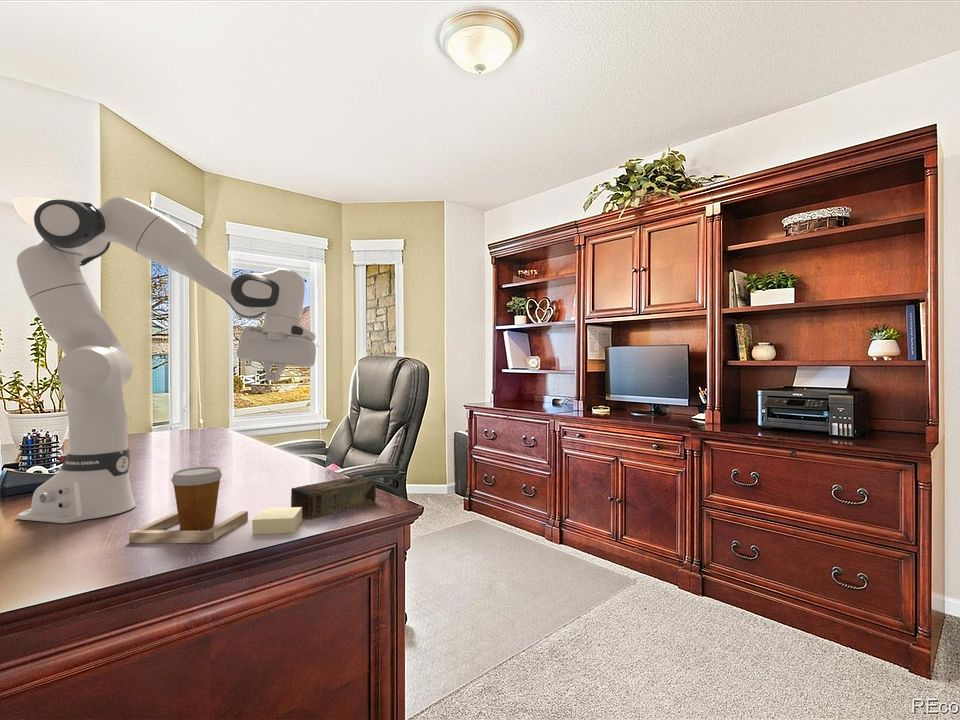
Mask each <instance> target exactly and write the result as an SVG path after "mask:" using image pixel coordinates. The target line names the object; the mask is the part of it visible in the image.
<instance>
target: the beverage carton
mask: <svg viewBox="0 0 960 720" xmlns="http://www.w3.org/2000/svg"><path fill="white" fill-rule="evenodd" d="M376 486H377V480H375V479H373V478H372V479H371V478H369V477H365V476H364V475H362V474H359V475H353V476H351V477H346V478H339V479H333V480H328V481H323V482H318V483H312V484H305V485H302V486H297V487H292V488H291V489H290V490H291V491H290V507H302V520H305V521H309V520H315V519H319V518H322V517H326V516H330V515H333V514H332V513H334V514H336V513H335V512H338V513H340V512H339V511H342V512H344V511H343V510H346V511H348V510H347V509H350V510H352V509H351V508H353V509H356V508H355V507H357V508H360V507H359V506H361V507H364V506H363V505H365V506H367V505H366V504H368V505H371V504H370V503H372V504H375V503H376V498H377V493H376V490H377V489H376ZM374 502H375V503H374ZM329 514H330V515H329ZM325 515H326V516H325Z"/></svg>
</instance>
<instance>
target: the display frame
mask: <svg viewBox="0 0 960 720" xmlns="http://www.w3.org/2000/svg"><path fill="white" fill-rule="evenodd" d="M247 521H249V511H247V510H241V511H239V512H237V513H236V514H234V515H231V516H229V517H228V518H227V519H224V520H223V521H221V522H220V523H218V524H215V525H214V526H213V527H211V528H208V529H206V530H202V531H181V530H176V529H175V530H171V529H169V530H168V528H170V527H172V526H174V525H176V523H177V524H179V523H178V522H179V517H178V511H177V510H176V511H173V512H172V513H168V514H167V515H165V516H163V517H160V518H158V519H156V520H153V521H152V522H150V523H147V524H145V525H143V526H141V527H139V528H136V529H134V530H131V531H130V532H128V543H129V544H175V543H210V542H211V543H213V542H215V541H216V540H218V539H219V537H220V536H221V537H223V536H224V535H223V534H225V533H226V534H228V533H229V532H231V531H233V530H234V529H236V528H238V527H239V526H241V525H243V524H244V523H246V522H247ZM169 526H170V527H169ZM167 527H168V528H167ZM165 528H166V529H167V530H166V529H165ZM163 529H164V530H163ZM232 529H233V530H232ZM227 532H228V533H227ZM226 534H225V535H226ZM222 535H223V536H222ZM221 537H220V538H221ZM217 538H218V539H217ZM215 539H216V540H215ZM214 540H215V541H214ZM212 541H213V542H212ZM211 543H210V544H211Z"/></svg>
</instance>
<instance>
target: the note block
mask: <svg viewBox="0 0 960 720" xmlns="http://www.w3.org/2000/svg"><path fill="white" fill-rule="evenodd" d="M302 522H303V519H302V507H291V506H290V507H271V508H269V507H267V508H263V509H262V510H261V511H260V512H259V513H258V514H257V515H256V516H255V517H254V518H253V519H252V522H251V523H252V525H251V526H252V528H251V529H252V530H251V531H252V532H251V533H252V535H253V536H254V535H273V534H274V535H275V534H292V533H293V534H294V533H295V531H296V530H297V528H298V527H299V525H300V524H301V523H302Z"/></svg>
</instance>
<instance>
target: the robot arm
mask: <svg viewBox="0 0 960 720" xmlns="http://www.w3.org/2000/svg"><path fill="white" fill-rule="evenodd" d="M33 222H34V223H33V224H34V226H35V227H34V228H35V229H36V231H37V232H38V234H39V236H40V237H41V238H42V239H43V240H42V241H41V242H40V243H38V244H35V245H32V246H29V247H27V248H24V249H23V250H21V251H20V252H19V254H18V255H17V257H16V265H17V269H18V274H19V277H20V280H21V282H22V286H23V288H24V291H25V293H26V295H27V296H28V299H29V301H30V302H31V305H32V306H33V308H34V310H35V312H36V314H37V316H38V318H39V320H40V322H41V324H42V326H43V327H44V328H43V329H44V330H45V332H46V333H47V334H48V335H49V336H50V337H51V338H52V339H53V341H54V342H55V343H56V344H57V345H58V347H59V348H60V349H61V351H62V352H63V354H64V356H63V357H62V358H61V360H60V361H59V363H58V364H57V365H58V366H57V376H58V378H59V380H60V382H61V387H62V392H63V393H62V394H63V399H64V403H65V407H66V413H67V419H68V420H67V421H68V453H67V454H66V455H65V456H61V457H60V456H59V457H57V458H56V459H57V460H59V461H56V463H58V464H59V463H62V464H61V468H60V469H61V470H60V471H58V472H57V473H56V474H54V475H53V476H52V477H50V478H48V480H46V481H44V482H43V483H42V484H41V485H40V486H38V487H37V488H36V489H35V490H34V492H33V495H32V497H31V499H32V500H31V508H28V509H26V510H24V511H21V512H19V513H18V514H17V517H16V519H17V520H21V521H22V520H24V521H33V522H43V523H45V522H47V523H54V524H55V523H58V524H71V523H75V522H80V521H84V520H90V519H91V520H93V519H98V518H105V517H108V516H114V515H117V514H121V513H124V512H128V511H130V510H132V509H134V508H135V507H136V506H137V505H136V502H135V499H134V496H133V491H132V488H131V481H130V475H129V469H130V464H131V460H130V459H131V455H130V452H131V451H130V450H131V449H130V448H129V447H128V414H127V412H126V408H125V407H126V406H125V402H124V401H125V400H124V394H123V393H124V392H123V387H124V386H125V385H126V384H127V383H128V382H129V381H130V379H131V377H132V375H133V371H134V370H133V369H134V366H133V362H132V361H131V359H130V357H129V356H128V354H127V352H126V350H125V349H124V347H123V345H122V343H121V342H120V340H119V338H118V337H117V335H116V334H115V332H114V331H113V329H112V328H111V326H110V325H109V323H108V322H107V320H106V318H105V317H104V315H103V313H102V312H101V310H100V309H101V308H99V306H98V303H97V301H96V299H95V297H94V295H93V294H92V291H91V289H90V287H89V285H88V284H87V281H86V280H85V279H86V278H84V275H83V273H82V271H81V267H83V266H86V265H88V264H89V263H90V262H92V261H93V260H96V259H98V258H100V257H101V256H103V255H104V254H106V253H107V251H108V250H109V248H110V246H111V243H116V244H120V245H122V246H125V247H126V248H128V249H130V250H132V251H133V252H135V253H136V254H139V255H140V256H142V257H144V258H146V259H148V260H150V261H152V262H154V263H156V264H158V265H161V266H162V267H165V268H167V269H170V270H172V271H173V272H176V273H178V274H181V275H183V276H184V277H187V278H189V279H191V280H192V281H194V282H195V283H197V284H199V285H201V286H203V288H206V289H207V290H209V291H210V292H212V293H214V294H215V295H217V296H219V297H220V298H221V299H223V300H224V301H225V302H226V303H227V304H228V305H229V307H230V308H231V309H232V311H233V312H234V313H235V314H237V315H238V316H239V317H241V318H243V319H248V320H254V319H259V318H261V317H263V316H264V315H265V316H264V320H263V321H264V322H263V326H262V327H260V326H257V327H255V326H251V325H250V326H248V327H245V328H244V329H243V330H242V331H241V335H240V340H239V343H238V346H237V350H236V357H237V358H238V359H239V360H242V361H246V362H247V361H248V362H249V361H250V362H257V363H263V365H262V367H263V369H264V372H265V376H264V379H265V380H267V381H273V382H278V381H279V380H280V375H282V373H283V372H284V371H285V369H286V366H293V367H294V366H295V367H303V368H312V367H313V366H314V365H315V364H316V355H317V352H316V351H317V350H316V349H317V346H316V343H314V341H315V339H316V334H315V333H314V332H312V331H311V330H309V329H307V328H306V327H304V326H302V325H300V323H301V316H300V315H301V314H300V313H301V311H302V309H303V305H304V299H305V292H306V291H305V290H306V289H305V287H306V286H305V280H304V279H303V277H302V275H299V274H298V273H297V272H295V271H294V270H290V269H288V268H277V269H275V270H273V271H269V272H263V273H259V272H258V273H257V272H256V273H254V272H253V273H252V272H247V273H246V272H244V273H242V274H240V275H237V277H235V278H234V277H233V276H231V275H230V274H229V273H227V272H225V271H224V270H222V269H221V268H219V267H218V266H216V265H214V264H213V263H211V262H210V261H209V260H207V258H205V257H204V255H203V254H202V253H201V252H200V250H199V249H198V248H197V246H196V244H195V242H194V240H193V239H192V237H191V236H190V235H189V234H188V233H187V232H186V231H185V230H184V229H182V228H181V227H180V226H179V225H178V224H176V223H175V222H174V221H172V220H171V219H169V218H168V217H166V216H164V215H163V214H161V213H159V212H157V211H156V210H154V209H151V208H149V207H148V206H146V205H144V204H142V203H140V202H137V201H135V200H131V199H129V198H127V197H123V196H115V197H111V198H109V199H107V200H106V201H105V202H103V204H102V205H101V206H100V207H97V206H96V205H95V204H94V203H91V202H83V201H74V200H69V199H51V200H47V201H45V202H43V203H41V204H40V205H39V206H38V207H37V208H36V210H35V212H34V215H33ZM273 364H275V365H276V368H277V370H276V371H274V373H273V372H272V371H271V368H272V366H273ZM60 459H61V460H60Z"/></svg>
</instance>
